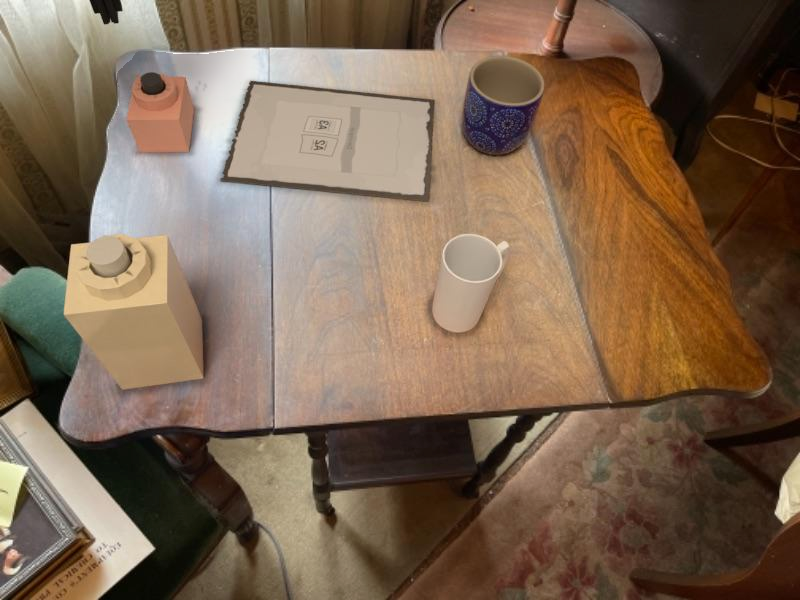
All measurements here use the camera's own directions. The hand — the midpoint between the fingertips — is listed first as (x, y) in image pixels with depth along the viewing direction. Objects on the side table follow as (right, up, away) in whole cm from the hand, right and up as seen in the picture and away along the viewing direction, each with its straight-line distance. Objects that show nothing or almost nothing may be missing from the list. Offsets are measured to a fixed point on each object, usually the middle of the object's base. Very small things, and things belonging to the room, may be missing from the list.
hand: (110, 16), depth 70 cm
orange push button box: (-1, -7, +21) cm, 22 cm away
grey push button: (+7, -29, -14) cm, 33 cm away
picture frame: (+23, -8, +23) cm, 34 cm away
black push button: (-1, -3, +14) cm, 15 cm away
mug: (+42, -34, +9) cm, 54 cm away
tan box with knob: (+5, -39, +2) cm, 40 cm away
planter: (+48, -7, +25) cm, 55 cm away
